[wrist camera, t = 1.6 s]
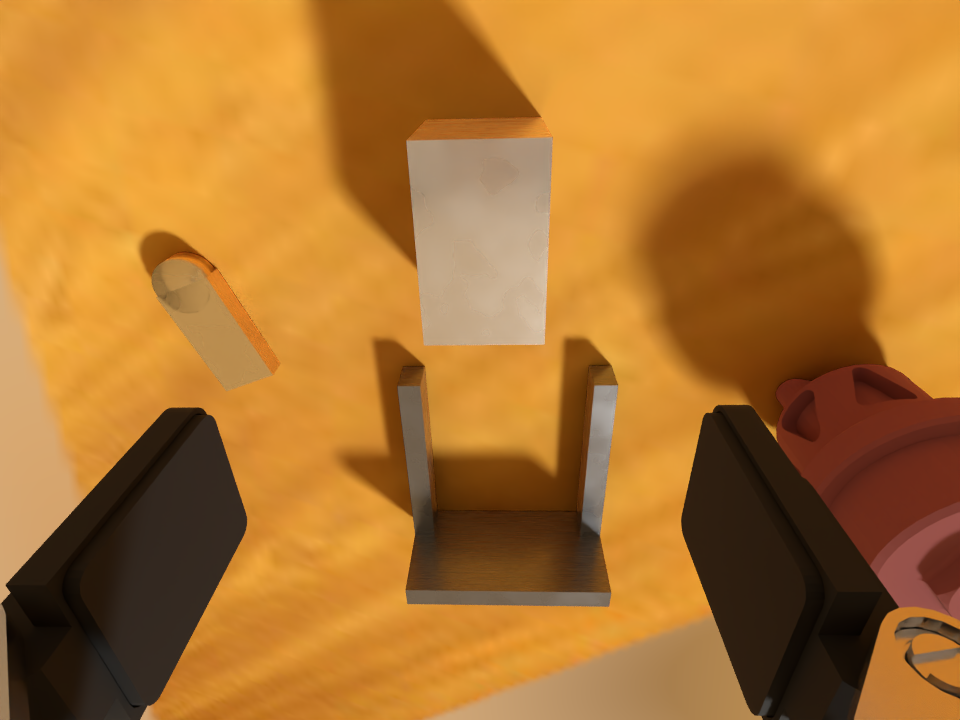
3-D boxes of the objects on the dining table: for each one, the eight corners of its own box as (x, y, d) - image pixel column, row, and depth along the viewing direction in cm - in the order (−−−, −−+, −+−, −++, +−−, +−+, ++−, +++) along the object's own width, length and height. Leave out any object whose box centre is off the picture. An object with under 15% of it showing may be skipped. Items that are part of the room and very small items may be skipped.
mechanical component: (847, 488, 34) (702, 444, 32) (970, 355, 29) (806, 297, 27) (1008, 695, 23) (802, 642, 22) (1246, 541, 18) (1000, 460, 17)
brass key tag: (151, 263, 28) (138, 272, 27) (200, 243, 27) (188, 251, 26) (235, 379, 31) (226, 391, 30) (280, 363, 30) (273, 375, 29)
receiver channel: (403, 366, 30) (383, 433, 25) (611, 365, 30) (634, 434, 25) (420, 523, 36) (407, 603, 31) (593, 524, 36) (609, 606, 31)
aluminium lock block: (426, 119, 24) (406, 140, 19) (541, 116, 24) (552, 137, 19) (438, 301, 28) (425, 359, 23) (535, 300, 28) (543, 359, 23)
